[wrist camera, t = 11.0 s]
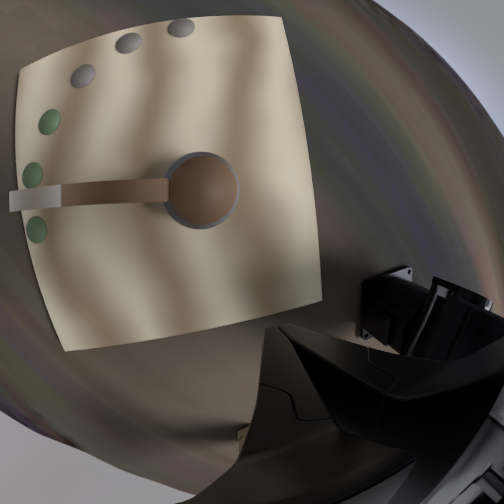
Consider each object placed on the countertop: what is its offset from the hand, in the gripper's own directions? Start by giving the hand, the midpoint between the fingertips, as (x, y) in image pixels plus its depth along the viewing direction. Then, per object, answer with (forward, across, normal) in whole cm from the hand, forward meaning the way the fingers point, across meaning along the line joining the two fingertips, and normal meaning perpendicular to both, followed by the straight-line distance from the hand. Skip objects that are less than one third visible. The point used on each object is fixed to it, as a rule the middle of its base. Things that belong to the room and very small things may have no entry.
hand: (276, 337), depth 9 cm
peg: (+10, +6, -6) cm, 13 cm away
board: (+12, +4, -7) cm, 14 cm away
